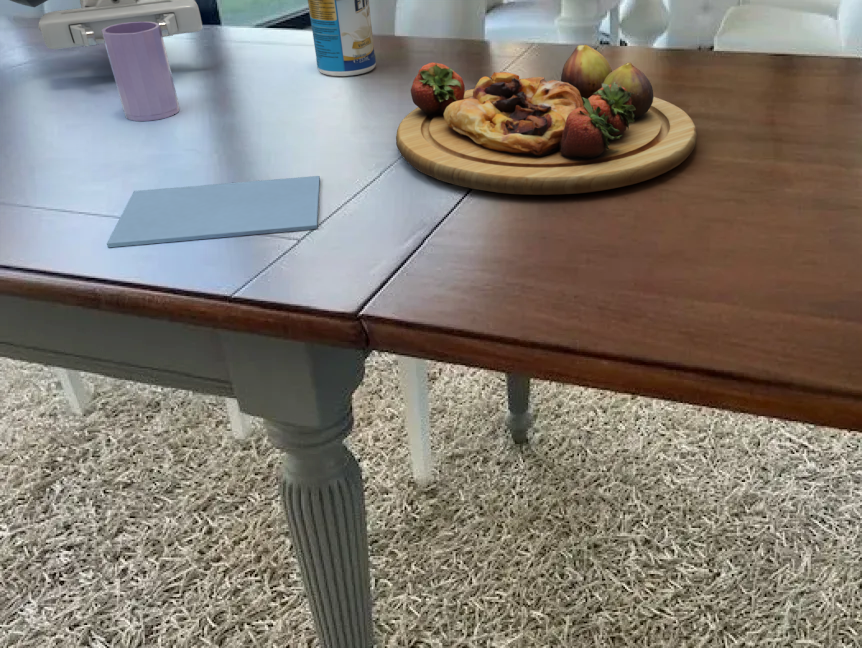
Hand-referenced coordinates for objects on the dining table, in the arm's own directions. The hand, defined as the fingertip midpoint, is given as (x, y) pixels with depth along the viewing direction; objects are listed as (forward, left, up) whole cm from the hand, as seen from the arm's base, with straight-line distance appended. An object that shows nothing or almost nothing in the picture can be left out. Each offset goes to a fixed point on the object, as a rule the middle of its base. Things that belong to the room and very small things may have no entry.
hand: (128, 34), depth 110 cm
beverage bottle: (+27, +3, -7) cm, 28 cm away
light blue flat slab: (+15, -44, -7) cm, 47 cm away
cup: (+3, -11, -7) cm, 13 cm away
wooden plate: (+48, -33, -7) cm, 59 cm away
